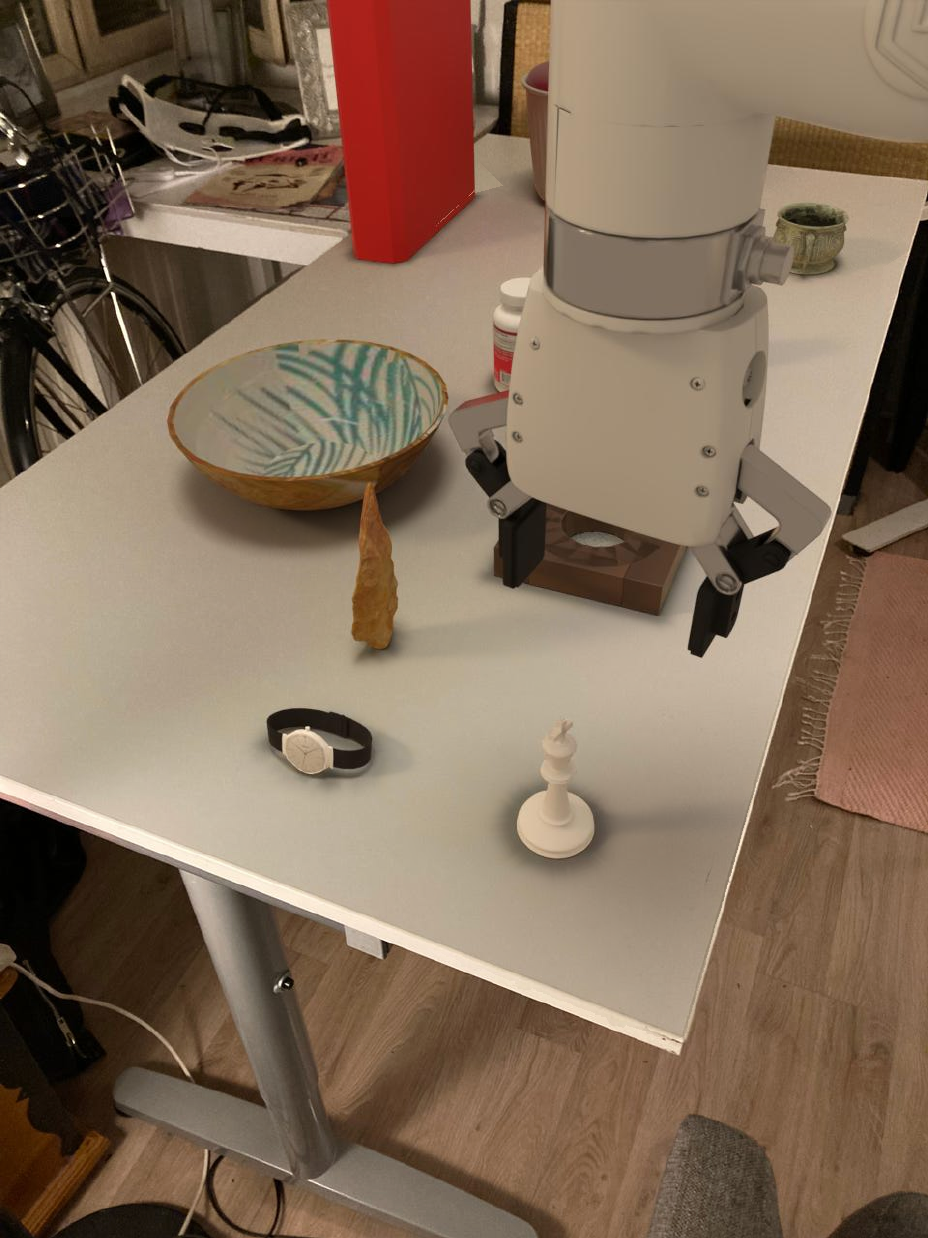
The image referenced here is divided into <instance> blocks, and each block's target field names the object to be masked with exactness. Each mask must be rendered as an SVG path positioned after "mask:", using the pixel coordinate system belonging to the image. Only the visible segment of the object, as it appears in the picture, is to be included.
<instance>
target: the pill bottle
mask: <svg viewBox="0 0 928 1238" xmlns="http://www.w3.org/2000/svg"><path fill="white" fill-rule="evenodd" d="M530 279H531V277H516V278H511V279H508V280H506V281H504V282H503V283H502V284H500V288H499V302H500V304H499V305H498V306H497V307H496V308H495V309H494V312H493V316H492V340H493V345H492V347H493V348H492V349H493V380H494V381H493V383H494V387H495V389H496V391H498V393H499V392H503V391H507V390H509V386H510V379H511V370H512V362H513V356H514V350H515V344H516V338H517V333H518V328H519V324H520V319H521V315H522V310H523V306H524V302H525V298H526V294H527V290H528V287H529V283H530Z"/></svg>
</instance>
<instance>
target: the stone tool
mask: <svg viewBox="0 0 928 1238" xmlns="http://www.w3.org/2000/svg"><path fill="white" fill-rule="evenodd" d="M376 495H377V494H376V493H375V489H374V488H373V487H372V484H371V483H370V482H369V483H368V485H367V486H366V490H365V494H364V499H362V500H363V501H362V509H361V515H360V516H361V517H360V524H359V535H358V545H359V546H358V547H359V565H358V570H357V573H356V578H355V588H354V590H353V593H352V597H351V603H352V605H351V606H352V607H351V609H352V619H353V620H352V624H351V630H350V634H351V636H352V639H353V640H354V641H355V642H359V643H360V642H365V643H367V644H369V645H370V646H371V647H373V648H374V649H379V650H382V649H386V648H387V647H388V645H389V644H390V642H391V638H392V635H393V633H394V619H395V618H394V617H395V614H396V612H397V611H398V609H399V597H398V586H399V582H398V579H397V577H396V575H395V561H394V560H393V559H392V552H393V545H392V539H391V536H390V533H389V531H388V529H387V528H386V527H385V525H384V524H383V521H382V516H381V513H380V510H379V504H378V500H377V496H376Z"/></svg>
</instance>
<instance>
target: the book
mask: <svg viewBox="0 0 928 1238" xmlns="http://www.w3.org/2000/svg"><path fill="white" fill-rule="evenodd" d="M471 1H472V0H326V1H325V2H326V8H327V10H326V11H327V18H328V19H327V20H328V27H329V36H330V47H331V55H332V65H333V73H334V75H333V76H334V82H335V83H334V84H335V85H334V86H335V93H336V101H337V111H338V112H337V113H338V121H339V130H340V131H339V132H340V140H341V149H342V158H343V159H342V160H343V167H344V176H345V185H346V196H347V202H348V203H347V205H348V214H349V224H350V231H351V241H352V250H353V251H352V253H353V255H354V257H355V258H356V260H361V261H369V262H370V261H371V262H378V263H387V264H393V265H394V264H398V263H404V262H408V260H410V258H412V257H413V256H414V255H415V254H416V253H417V252H418V251H419V250H420V249H422V248H423V247H424V246H425V245H426V244H427V243H428V242H429V241H430V240H431V239H432V238H433V237H434V236H435V235H437V233H438V232H439V231H441V230H442V229H443V228H444V227H445V226H446V225H448V223H449V222H451V220H452V219H454V217H456V216H457V215H458V214H459V213H460V212H461V211H462V210H463V209H464V208H465V207H467V206H468V204H469V203H471V202H472V201H473V200H474V199H475V198H476V177H475V176H476V175H475V173H476V172H475V137H474V136H475V133H474V132H475V130H474V127H475V125H474V88H473V87H474V86H473V47H472V46H473V43H472V42H473V40H472V2H471ZM474 190H475V191H474ZM473 191H474V192H473ZM472 192H473V193H472ZM471 193H472V194H471ZM470 194H471V195H470ZM469 195H470V196H469ZM458 205H459V206H458ZM457 206H458V207H457ZM456 207H457V208H456ZM453 209H454V210H453ZM452 210H453V211H452ZM451 211H452V212H451ZM450 212H451V213H450ZM449 213H450V214H449ZM448 214H449V215H448ZM447 215H448V216H447ZM446 216H447V217H446ZM445 217H446V218H445ZM443 218H445V219H443ZM442 219H443V220H442ZM441 220H442V221H441ZM440 221H441V222H440ZM438 223H439V224H438ZM436 225H437V226H436Z"/></svg>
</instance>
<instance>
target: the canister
mask: <svg viewBox="0 0 928 1238" xmlns="http://www.w3.org/2000/svg"><path fill="white" fill-rule="evenodd" d="M520 83H521V84H520V85H521V86H522V87H523V88H524V89H525V97H526V100H525V101H526V111H527V123H528V124H527V125H528V135H529V147H530V156H531V165H532V166H531V167H532V175H533V183H534V186H535V190H536V193H537V194H538V196H539V198H540V199H541V200H542V201H543V202H545V200H546V197H545V196H546V160H547V124H548V88H549V60H547V61H543V62H541V63H539V64H537V65H535V66H534V67H532V68H531V69H530V71H528V72H526V73H524V74H523V75H522V76H521V78H520ZM543 199H544V200H543Z"/></svg>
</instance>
